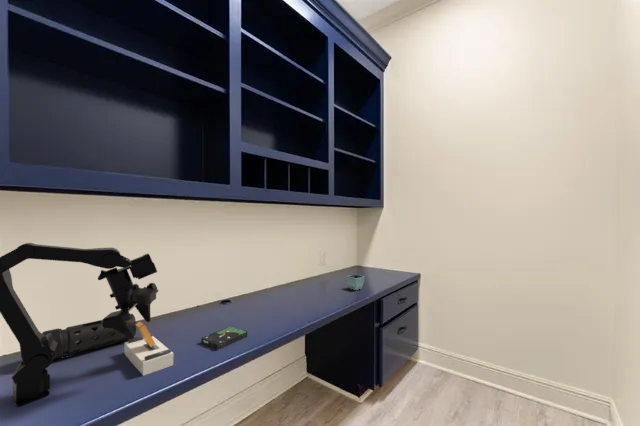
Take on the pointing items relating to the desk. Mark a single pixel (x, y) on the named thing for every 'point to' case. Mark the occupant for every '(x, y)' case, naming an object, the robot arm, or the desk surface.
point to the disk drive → (224, 337)
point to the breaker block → (148, 355)
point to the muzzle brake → (86, 337)
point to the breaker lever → (145, 334)
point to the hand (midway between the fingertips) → (141, 329)
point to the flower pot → (355, 281)
